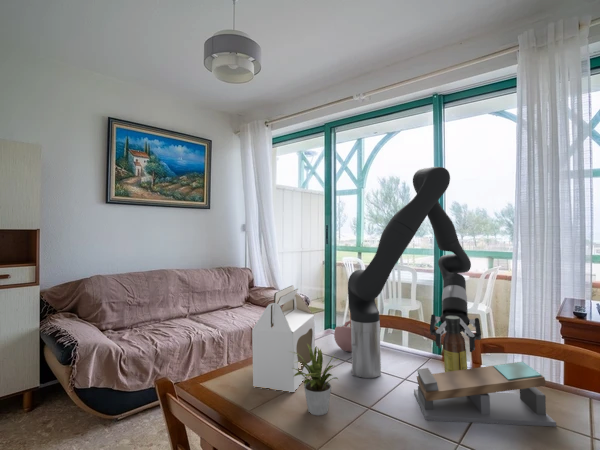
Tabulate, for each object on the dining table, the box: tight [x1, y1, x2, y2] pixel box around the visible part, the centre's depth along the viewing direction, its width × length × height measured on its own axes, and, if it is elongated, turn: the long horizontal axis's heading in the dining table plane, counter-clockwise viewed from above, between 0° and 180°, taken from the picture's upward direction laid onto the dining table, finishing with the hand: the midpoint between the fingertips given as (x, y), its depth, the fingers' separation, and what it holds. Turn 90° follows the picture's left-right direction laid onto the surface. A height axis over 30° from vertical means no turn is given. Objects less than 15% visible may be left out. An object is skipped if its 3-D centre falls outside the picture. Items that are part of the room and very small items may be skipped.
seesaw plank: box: [416, 361, 547, 401], centre depth 87 cm, size 28×10×4 cm, turn 82°
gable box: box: [251, 285, 316, 393], centre depth 110 cm, size 22×13×28 cm, turn 161°
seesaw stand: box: [413, 385, 557, 427], centre depth 87 cm, size 29×14×6 cm, turn 82°
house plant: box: [292, 344, 339, 416], centre depth 89 cm, size 14×14×16 cm
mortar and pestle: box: [333, 319, 352, 353], centre depth 131 cm, size 12×12×11 cm
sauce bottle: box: [442, 316, 468, 372], centre depth 101 cm, size 7×6×20 cm
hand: (455, 349), depth 100 cm, fingers open, 8 cm apart
